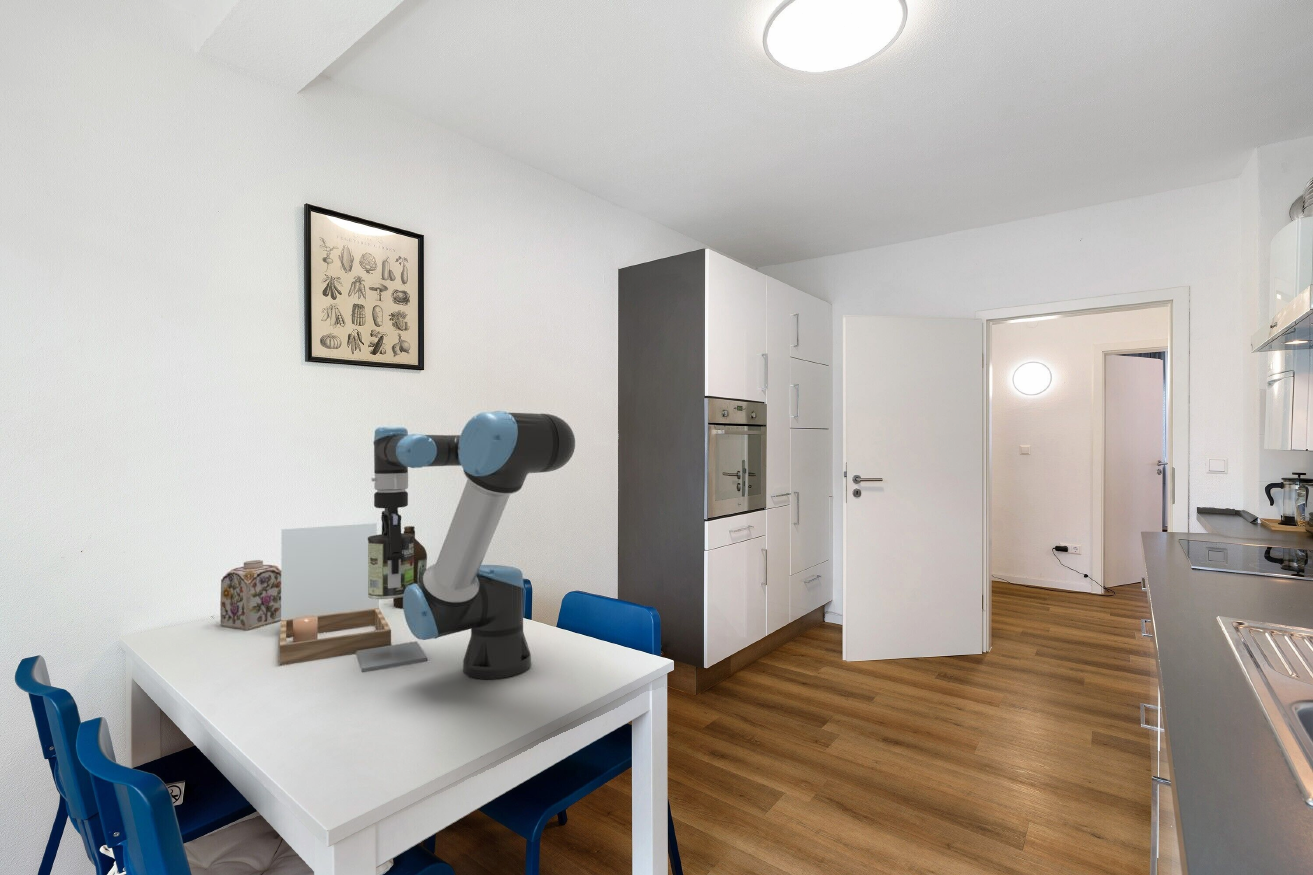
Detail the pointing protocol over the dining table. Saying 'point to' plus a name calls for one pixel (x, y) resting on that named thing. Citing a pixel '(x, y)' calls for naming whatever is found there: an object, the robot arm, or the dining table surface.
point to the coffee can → (379, 566)
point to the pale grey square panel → (325, 570)
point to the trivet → (390, 656)
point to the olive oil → (414, 564)
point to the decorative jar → (251, 596)
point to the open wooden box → (338, 643)
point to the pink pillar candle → (305, 628)
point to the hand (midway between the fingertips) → (391, 582)
